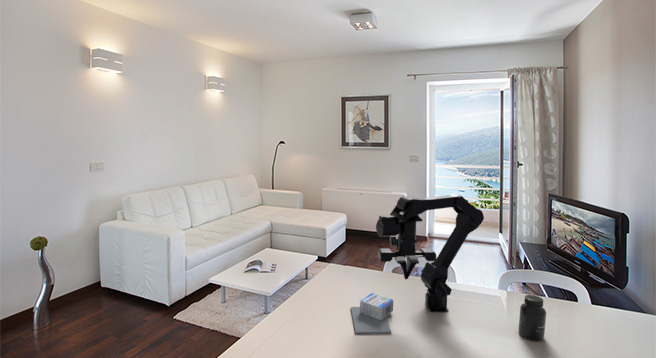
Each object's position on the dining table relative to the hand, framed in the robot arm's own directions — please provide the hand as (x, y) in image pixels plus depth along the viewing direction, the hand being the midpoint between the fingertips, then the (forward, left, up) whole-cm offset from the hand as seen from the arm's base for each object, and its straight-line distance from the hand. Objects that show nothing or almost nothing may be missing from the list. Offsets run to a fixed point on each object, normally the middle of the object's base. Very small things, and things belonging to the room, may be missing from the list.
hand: (405, 278), depth 118 cm
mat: (+13, +5, -12) cm, 18 cm away
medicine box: (+7, +4, -9) cm, 12 cm away
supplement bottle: (-35, +15, -12) cm, 40 cm away
